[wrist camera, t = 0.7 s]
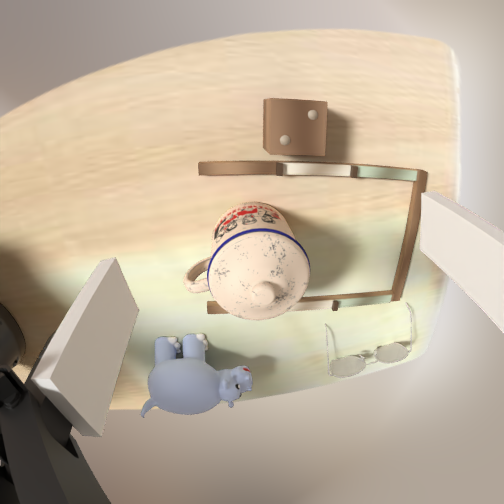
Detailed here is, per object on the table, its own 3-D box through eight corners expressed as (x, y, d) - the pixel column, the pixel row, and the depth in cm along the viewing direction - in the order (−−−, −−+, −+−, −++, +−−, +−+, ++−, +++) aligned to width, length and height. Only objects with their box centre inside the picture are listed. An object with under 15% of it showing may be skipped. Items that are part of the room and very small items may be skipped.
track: (207, 309, 39) (207, 318, 37) (199, 162, 31) (197, 165, 29) (396, 296, 41) (401, 303, 39) (422, 169, 33) (431, 173, 31)
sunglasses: (322, 361, 46) (330, 381, 41) (318, 316, 43) (327, 335, 38) (401, 339, 46) (414, 355, 41) (403, 294, 43) (419, 309, 38)
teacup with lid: (279, 187, 33) (306, 229, 22) (299, 259, 37) (328, 321, 26) (173, 223, 33) (152, 279, 23) (203, 289, 37) (199, 359, 27)
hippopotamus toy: (253, 378, 45) (259, 428, 37) (159, 386, 45) (153, 434, 36) (244, 326, 41) (250, 381, 32) (137, 337, 40) (123, 389, 32)
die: (262, 147, 31) (269, 154, 26) (263, 99, 28) (270, 98, 24) (310, 148, 31) (325, 156, 26) (312, 102, 29) (328, 101, 24)
